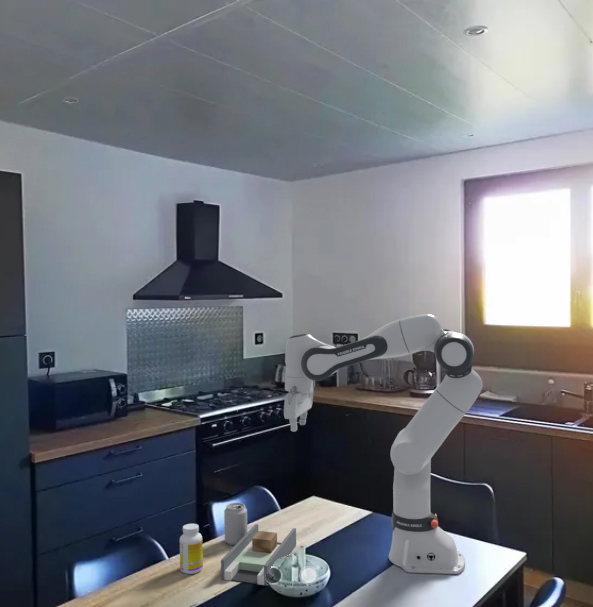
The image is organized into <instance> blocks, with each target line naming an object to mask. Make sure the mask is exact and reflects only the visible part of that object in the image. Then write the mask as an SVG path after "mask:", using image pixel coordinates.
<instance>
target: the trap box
mask: <svg viewBox="0 0 593 607" xmlns="http://www.w3.org/2000/svg"><path fill="white" fill-rule="evenodd" d="M258 531H259V524H258V523H257V524H256V523H255V524H254V525H253V526H252V527H251V528H250V529H249V530H247V533H246V535H245V536H244V537H243V538H242V539H241V540H240V541H239V542H238V543H237V544H236V545H233V547H232V548H231V549H230V550H229V551H228V552H227V553H226V554H225V556H223V557H222V558H221V560H220V579H221V580H223V579H224V580H223V581H230V582H231V581H232V582H238V583H244V584H254V585H260V586H261V585H262V586H267V587H268V586H269V584H267V583H266V581H265V575H266V574H268V571H269V569H270V568H271V566H273V564H274V562H275V561H276V560H277V559H279V558H281V557H284V556H287V555H289V554H290V553H292V552H293V550H294V549H295V548H296V546H297V528H295V527H292V529H291V530H290V531H289V533H288V534H287V535H286V537H285V538H284V539H283V541H282V542H280V541H279V542H278V541H277V546H276V548H275V549H274V550H273V551H272V553H271V554H270V553H262V552H254V551H252V538H253V537H254V536H255V535H256V534H257V533H258ZM290 555H291V554H290ZM290 555H289V556H290Z"/></svg>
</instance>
